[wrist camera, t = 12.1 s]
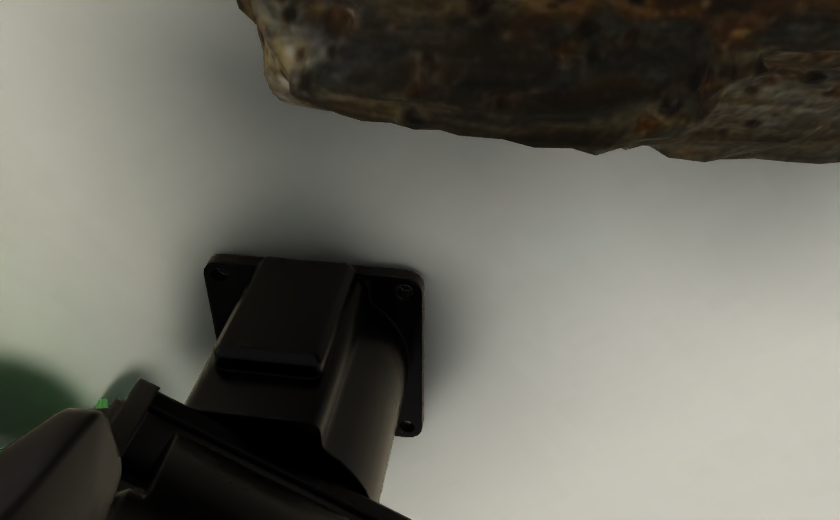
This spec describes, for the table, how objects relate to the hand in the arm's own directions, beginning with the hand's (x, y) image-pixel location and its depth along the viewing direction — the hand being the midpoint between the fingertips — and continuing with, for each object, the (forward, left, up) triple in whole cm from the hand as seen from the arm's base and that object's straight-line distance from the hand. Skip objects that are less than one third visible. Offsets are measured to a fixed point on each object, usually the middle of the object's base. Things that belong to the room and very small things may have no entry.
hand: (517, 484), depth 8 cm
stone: (+2, -2, -13) cm, 14 cm away
